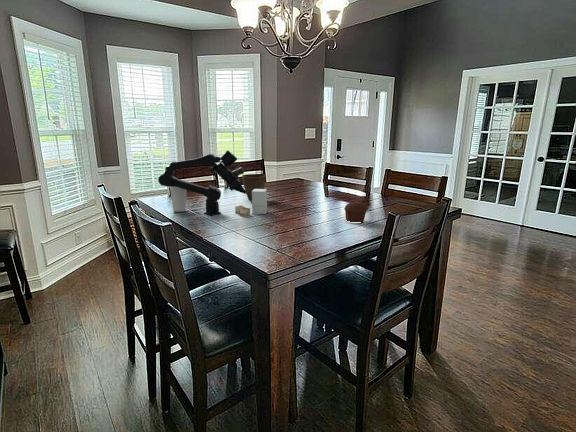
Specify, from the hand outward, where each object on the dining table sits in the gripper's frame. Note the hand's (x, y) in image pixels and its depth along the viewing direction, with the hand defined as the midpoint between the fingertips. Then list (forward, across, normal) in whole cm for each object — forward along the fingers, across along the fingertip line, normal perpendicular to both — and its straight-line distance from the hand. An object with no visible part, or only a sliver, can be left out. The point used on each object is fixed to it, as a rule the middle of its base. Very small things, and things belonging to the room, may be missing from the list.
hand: (245, 193), depth 183 cm
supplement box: (+13, 0, +3) cm, 13 cm away
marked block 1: (+6, -1, +10) cm, 12 cm away
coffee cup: (-18, +7, +33) cm, 38 cm away
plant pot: (+12, +32, +3) cm, 34 cm away
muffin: (+46, -23, -30) cm, 60 cm away
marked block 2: (+7, -6, +8) cm, 13 cm away
